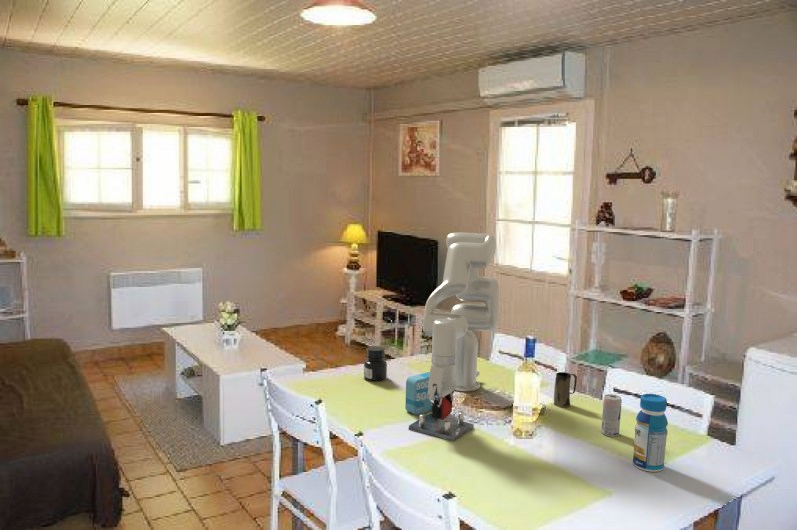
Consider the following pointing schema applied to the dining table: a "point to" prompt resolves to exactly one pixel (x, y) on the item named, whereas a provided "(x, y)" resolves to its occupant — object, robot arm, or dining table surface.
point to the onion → (445, 408)
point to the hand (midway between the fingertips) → (441, 414)
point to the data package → (418, 394)
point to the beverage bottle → (650, 433)
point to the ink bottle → (375, 364)
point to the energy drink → (611, 415)
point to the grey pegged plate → (442, 426)
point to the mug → (563, 389)
